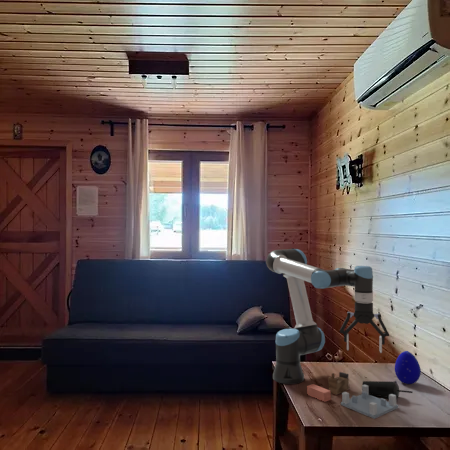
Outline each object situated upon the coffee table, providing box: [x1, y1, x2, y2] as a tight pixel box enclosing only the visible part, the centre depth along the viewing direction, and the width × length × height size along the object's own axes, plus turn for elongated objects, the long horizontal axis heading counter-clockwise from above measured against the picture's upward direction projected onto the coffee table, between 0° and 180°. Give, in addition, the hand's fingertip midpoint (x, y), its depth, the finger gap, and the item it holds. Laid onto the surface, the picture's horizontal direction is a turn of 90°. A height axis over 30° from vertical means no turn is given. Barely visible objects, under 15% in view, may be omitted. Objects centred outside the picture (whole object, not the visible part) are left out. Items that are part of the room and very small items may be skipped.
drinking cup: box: [361, 380, 413, 401], centre depth 177 cm, size 8×8×20 cm
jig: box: [340, 384, 399, 420], centre depth 168 cm, size 16×16×5 cm
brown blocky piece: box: [327, 371, 350, 396], centre depth 185 cm, size 10×4×9 cm, turn 132°
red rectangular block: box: [306, 383, 332, 403], centre depth 178 cm, size 10×4×4 cm, turn 35°
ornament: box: [394, 350, 422, 385], centre depth 192 cm, size 11×9×15 cm
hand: (364, 350), depth 177 cm, fingers open, 13 cm apart
